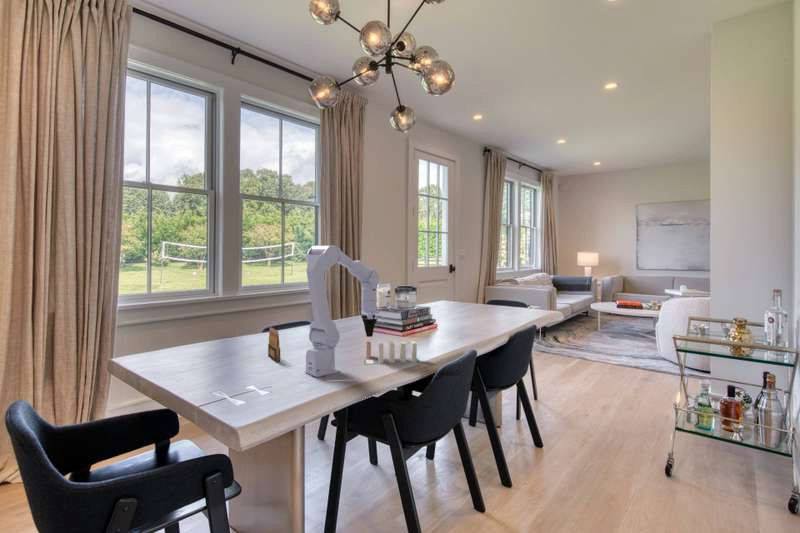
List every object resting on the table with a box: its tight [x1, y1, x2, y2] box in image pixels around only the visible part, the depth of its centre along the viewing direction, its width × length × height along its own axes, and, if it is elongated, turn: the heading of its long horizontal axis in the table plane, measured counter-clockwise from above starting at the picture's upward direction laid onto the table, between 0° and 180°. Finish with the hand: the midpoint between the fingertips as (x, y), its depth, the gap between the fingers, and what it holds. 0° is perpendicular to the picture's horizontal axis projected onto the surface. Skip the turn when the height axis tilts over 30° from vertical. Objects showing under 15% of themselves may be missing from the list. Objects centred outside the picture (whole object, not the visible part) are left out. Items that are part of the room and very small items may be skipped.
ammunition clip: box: [267, 326, 281, 363], centre depth 159 cm, size 11×2×12 cm, turn 33°
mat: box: [363, 357, 421, 366], centre depth 155 cm, size 21×7×1 cm, turn 98°
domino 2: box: [388, 341, 396, 363], centre depth 155 cm, size 2×4×7 cm, turn 8°
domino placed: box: [365, 339, 372, 360], centre depth 161 cm, size 2×4×7 cm, turn 8°
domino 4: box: [410, 340, 418, 362], centre depth 156 cm, size 2×4×7 cm, turn 8°
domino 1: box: [377, 341, 384, 363], centre depth 154 cm, size 2×4×7 cm, turn 8°
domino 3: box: [399, 341, 407, 362], centre depth 156 cm, size 2×4×7 cm, turn 8°
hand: (368, 334), depth 161 cm, fingers open, 7 cm apart
